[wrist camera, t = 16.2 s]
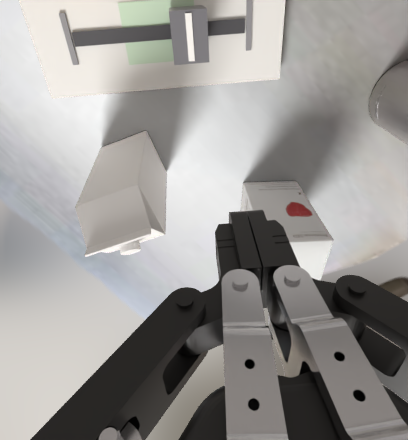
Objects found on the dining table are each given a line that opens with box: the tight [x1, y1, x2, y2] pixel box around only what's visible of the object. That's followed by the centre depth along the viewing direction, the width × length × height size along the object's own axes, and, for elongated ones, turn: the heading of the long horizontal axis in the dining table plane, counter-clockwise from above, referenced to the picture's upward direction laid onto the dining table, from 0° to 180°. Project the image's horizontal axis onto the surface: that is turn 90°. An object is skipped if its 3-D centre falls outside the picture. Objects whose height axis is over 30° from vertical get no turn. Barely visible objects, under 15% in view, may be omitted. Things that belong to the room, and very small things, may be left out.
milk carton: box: [75, 131, 167, 257], centre depth 39 cm, size 7×7×19 cm
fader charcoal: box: [169, 5, 209, 65], centre depth 33 cm, size 4×4×6 cm
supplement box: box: [240, 181, 333, 280], centre depth 47 cm, size 9×9×15 cm
